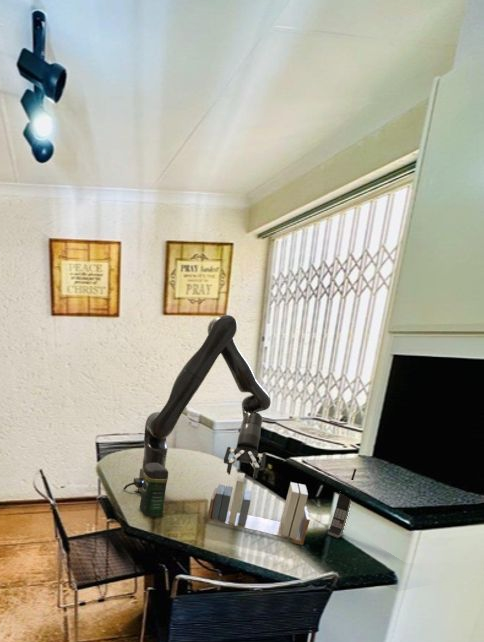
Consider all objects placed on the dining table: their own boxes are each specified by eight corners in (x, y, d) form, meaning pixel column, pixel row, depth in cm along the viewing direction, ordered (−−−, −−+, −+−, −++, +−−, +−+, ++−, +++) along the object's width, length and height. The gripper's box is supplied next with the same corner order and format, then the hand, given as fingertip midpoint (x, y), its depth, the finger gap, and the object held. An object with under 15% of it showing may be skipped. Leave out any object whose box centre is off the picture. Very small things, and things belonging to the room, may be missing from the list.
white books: (281, 534, 132) (292, 491, 127) (280, 523, 141) (290, 482, 136) (296, 538, 131) (308, 494, 126) (294, 526, 140) (305, 484, 135)
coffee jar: (165, 518, 140) (172, 469, 134) (144, 518, 139) (150, 469, 132) (156, 506, 149) (162, 460, 143) (137, 507, 147) (142, 460, 141)
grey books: (211, 518, 140) (215, 493, 136) (214, 508, 149) (218, 484, 145) (245, 526, 136) (250, 500, 133) (246, 515, 145) (251, 490, 142)
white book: (228, 522, 138) (236, 480, 133) (230, 512, 147) (238, 472, 142) (234, 524, 137) (243, 482, 132) (236, 513, 146) (245, 473, 141)
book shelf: (206, 522, 140) (211, 498, 137) (210, 510, 150) (215, 487, 147) (302, 545, 130) (310, 519, 127) (300, 530, 141) (306, 506, 137)
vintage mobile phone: (327, 534, 139) (346, 468, 131) (331, 530, 142) (351, 466, 134) (338, 538, 137) (359, 472, 128) (342, 534, 140) (363, 469, 132)
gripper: (230, 429, 144) (221, 467, 138) (270, 436, 140) (263, 475, 134) (228, 440, 151) (220, 476, 144) (267, 446, 147) (260, 484, 140)
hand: (241, 476), depth 139 cm, fingers open, 8 cm apart
